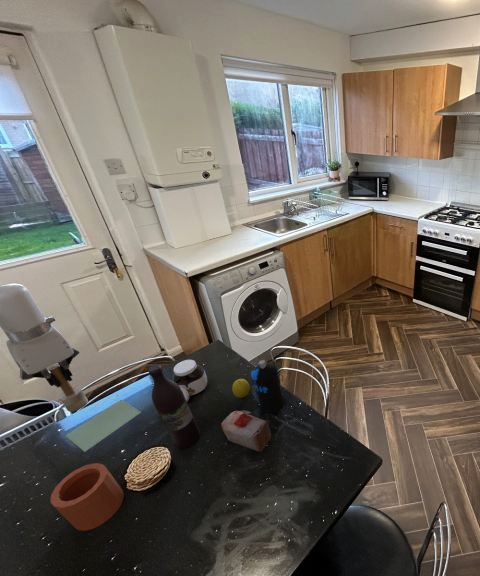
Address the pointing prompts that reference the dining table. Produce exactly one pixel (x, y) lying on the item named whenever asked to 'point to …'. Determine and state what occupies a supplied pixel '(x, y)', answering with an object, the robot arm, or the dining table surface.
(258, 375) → the aerosol can
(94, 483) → the terracotta pot
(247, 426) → the food item
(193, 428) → the wine bottle
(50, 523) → the dining table surface
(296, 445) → the dining table surface
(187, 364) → the spread jar
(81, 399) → the brush
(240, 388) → the lemon
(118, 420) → the mat
